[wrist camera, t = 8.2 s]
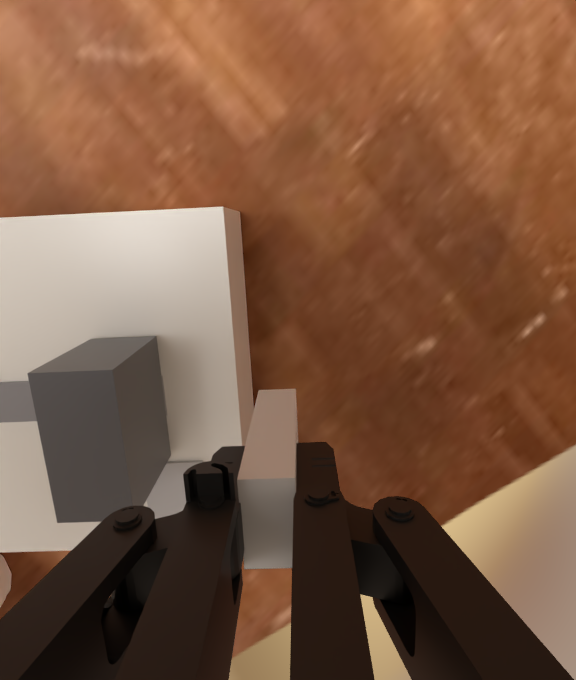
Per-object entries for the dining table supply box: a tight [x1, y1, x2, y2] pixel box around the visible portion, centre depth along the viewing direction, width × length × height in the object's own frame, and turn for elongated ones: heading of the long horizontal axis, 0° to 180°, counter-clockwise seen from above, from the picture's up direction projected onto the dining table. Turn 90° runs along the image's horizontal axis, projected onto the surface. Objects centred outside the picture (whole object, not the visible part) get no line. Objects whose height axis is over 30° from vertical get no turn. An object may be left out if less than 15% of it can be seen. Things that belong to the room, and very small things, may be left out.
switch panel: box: [0, 207, 254, 553], centre depth 24 cm, size 17×22×6 cm
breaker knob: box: [27, 336, 171, 523], centre depth 19 cm, size 6×3×5 cm, turn 3°
